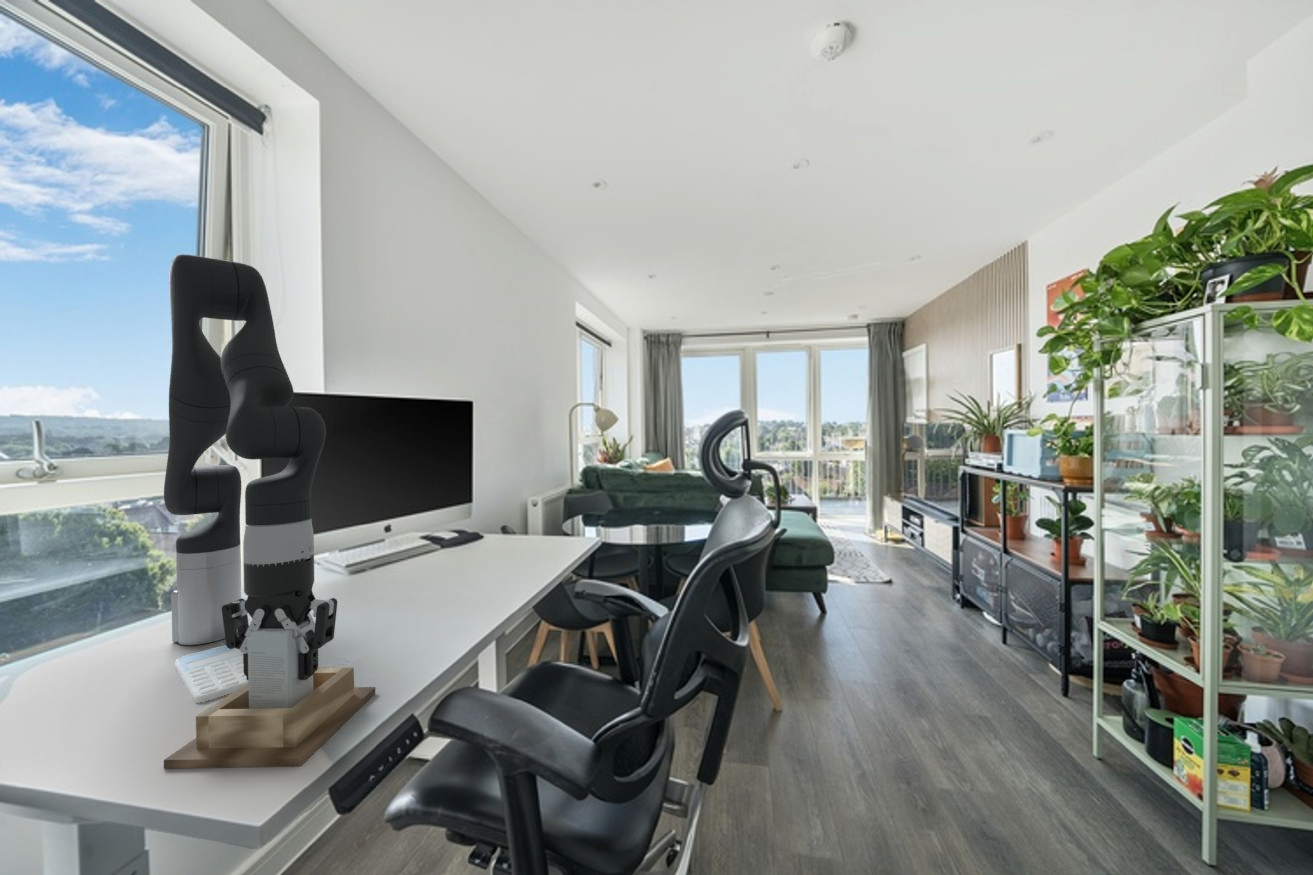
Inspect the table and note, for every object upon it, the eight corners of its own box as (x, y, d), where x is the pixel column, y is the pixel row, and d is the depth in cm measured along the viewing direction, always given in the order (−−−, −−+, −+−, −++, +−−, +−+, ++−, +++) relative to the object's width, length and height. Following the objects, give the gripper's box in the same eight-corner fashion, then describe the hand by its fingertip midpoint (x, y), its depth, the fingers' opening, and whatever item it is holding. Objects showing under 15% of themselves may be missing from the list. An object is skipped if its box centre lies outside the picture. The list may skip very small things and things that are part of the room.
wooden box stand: (163, 768, 58) (163, 726, 58) (268, 694, 74) (268, 662, 74) (300, 765, 58) (300, 724, 58) (375, 693, 74) (375, 660, 74)
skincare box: (315, 704, 68) (314, 619, 67) (289, 723, 63) (287, 632, 63) (275, 702, 68) (274, 617, 68) (246, 720, 64) (245, 630, 64)
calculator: (195, 708, 71) (195, 695, 71) (173, 667, 83) (173, 656, 83) (304, 673, 81) (304, 661, 81) (270, 641, 94) (269, 631, 94)
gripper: (200, 562, 62) (202, 692, 62) (315, 561, 62) (316, 691, 62) (248, 547, 69) (250, 664, 69) (350, 547, 69) (352, 663, 70)
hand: (281, 676), depth 66 cm, fingers closed on skincare box, 6 cm apart
